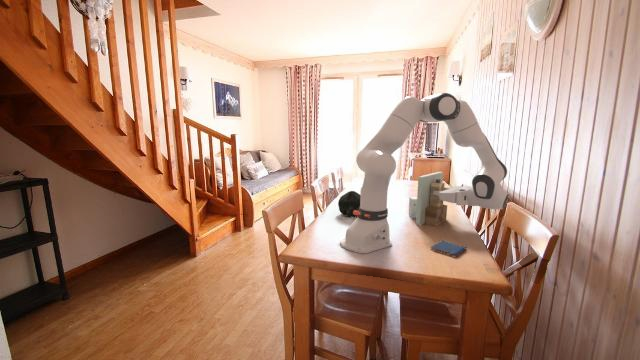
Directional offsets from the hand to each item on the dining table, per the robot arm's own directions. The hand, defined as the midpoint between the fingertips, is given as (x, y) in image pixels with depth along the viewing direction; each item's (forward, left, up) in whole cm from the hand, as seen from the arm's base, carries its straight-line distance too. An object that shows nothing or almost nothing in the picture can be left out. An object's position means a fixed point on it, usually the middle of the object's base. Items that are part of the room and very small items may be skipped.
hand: (438, 190), depth 145 cm
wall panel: (0, +4, -16) cm, 17 cm away
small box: (+1, +11, -16) cm, 20 cm away
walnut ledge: (0, 0, -16) cm, 16 cm away
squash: (-22, +37, -16) cm, 46 cm away
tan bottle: (0, +1, -8) cm, 8 cm away
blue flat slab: (-29, -19, -17) cm, 39 cm away
